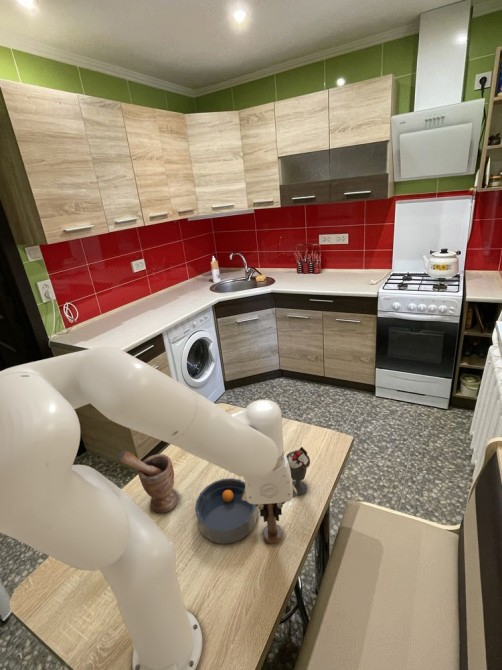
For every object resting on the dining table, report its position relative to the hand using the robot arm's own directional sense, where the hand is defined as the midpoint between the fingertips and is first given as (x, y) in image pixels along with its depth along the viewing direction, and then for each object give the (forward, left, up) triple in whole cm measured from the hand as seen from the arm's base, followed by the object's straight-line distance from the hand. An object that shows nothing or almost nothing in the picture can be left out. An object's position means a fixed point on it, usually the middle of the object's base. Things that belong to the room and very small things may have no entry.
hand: (271, 515), depth 80 cm
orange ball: (+10, +11, -5) cm, 16 cm away
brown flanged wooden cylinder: (0, 0, -7) cm, 7 cm away
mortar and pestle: (+11, +30, -7) cm, 33 cm away
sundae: (+13, -8, -7) cm, 17 cm away
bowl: (+6, +11, -7) cm, 14 cm away
